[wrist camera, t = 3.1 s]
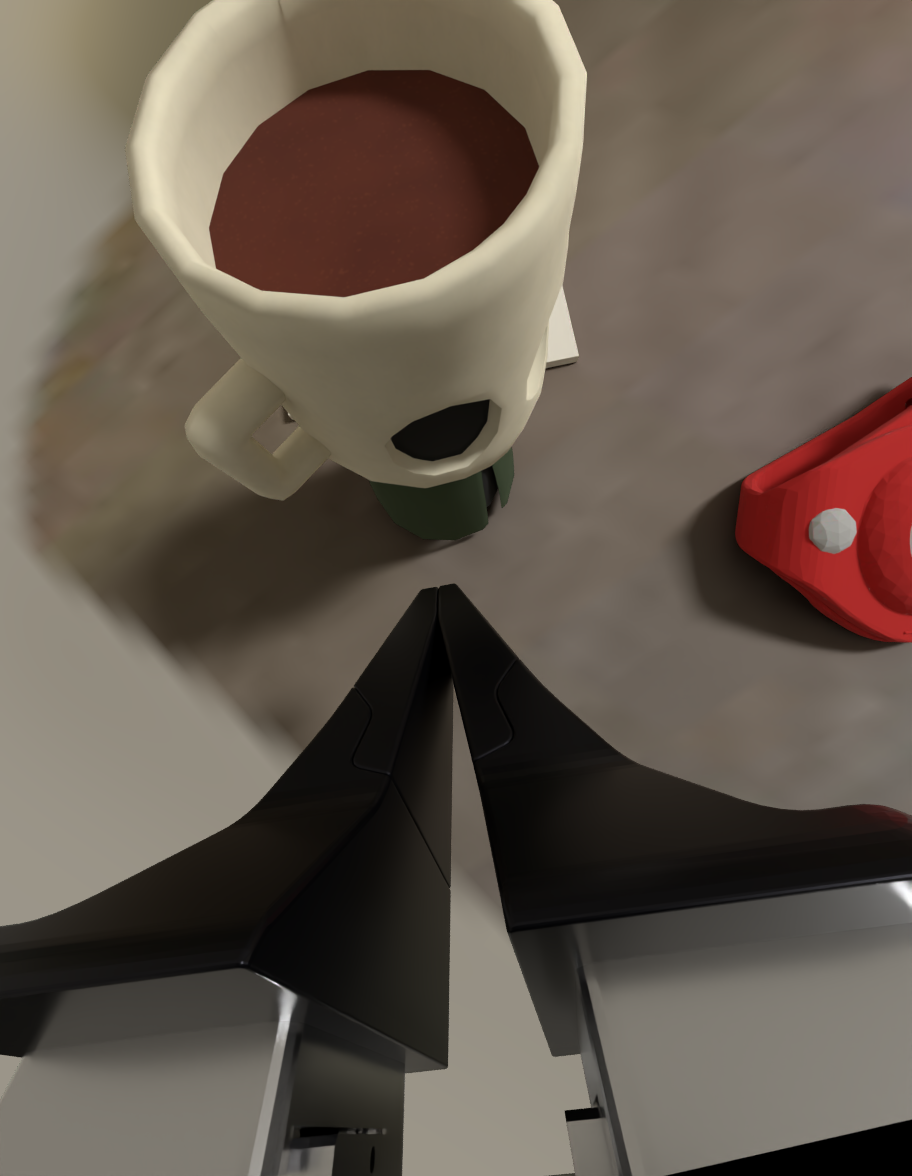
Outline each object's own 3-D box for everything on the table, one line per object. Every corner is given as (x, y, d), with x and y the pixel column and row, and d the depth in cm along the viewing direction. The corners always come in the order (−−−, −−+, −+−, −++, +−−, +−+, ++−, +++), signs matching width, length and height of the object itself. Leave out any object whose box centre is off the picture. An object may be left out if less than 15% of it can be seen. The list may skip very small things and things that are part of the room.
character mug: (422, 617, 18) (244, 538, 5) (312, 517, 19) (-60, 242, 6) (582, 439, 18) (791, -41, 6) (466, 352, 20) (419, -210, 7)
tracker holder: (1041, 654, 15) (807, 649, 13) (893, 630, 19) (705, 625, 18) (1103, 304, 14) (858, 256, 12) (932, 363, 18) (736, 334, 17)
